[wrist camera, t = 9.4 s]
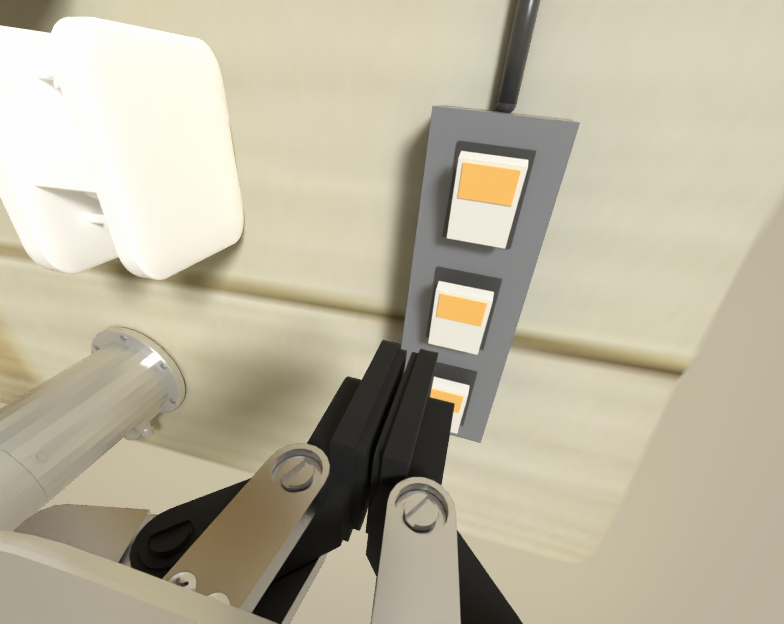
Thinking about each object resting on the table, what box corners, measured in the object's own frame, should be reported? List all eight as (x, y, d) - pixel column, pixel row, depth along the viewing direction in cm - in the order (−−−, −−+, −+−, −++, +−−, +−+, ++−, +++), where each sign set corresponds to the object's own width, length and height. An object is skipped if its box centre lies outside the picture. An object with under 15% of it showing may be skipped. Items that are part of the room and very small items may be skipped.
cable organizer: (255, 244, 34) (152, 302, 24) (158, 231, 36) (28, 278, 27) (224, 43, 27) (60, 9, 17) (105, 41, 29) (-100, 11, 19)
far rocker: (458, 423, 32) (456, 434, 31) (417, 412, 32) (414, 422, 31) (469, 385, 28) (467, 396, 28) (422, 373, 29) (419, 384, 28)
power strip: (483, 411, 36) (480, 448, 32) (402, 390, 38) (390, 423, 34) (630, -84, 19) (661, -132, 15) (470, -87, 20) (460, -131, 16)
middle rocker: (479, 345, 28) (477, 355, 27) (431, 334, 28) (427, 344, 27) (494, 292, 24) (492, 302, 23) (439, 280, 25) (435, 290, 24)
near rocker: (506, 239, 24) (505, 249, 23) (449, 230, 24) (446, 238, 23) (528, 159, 20) (527, 167, 19) (461, 150, 21) (458, 158, 20)
